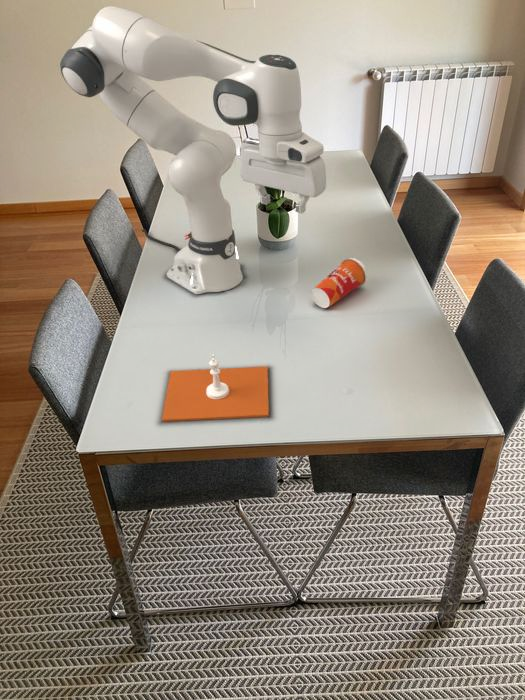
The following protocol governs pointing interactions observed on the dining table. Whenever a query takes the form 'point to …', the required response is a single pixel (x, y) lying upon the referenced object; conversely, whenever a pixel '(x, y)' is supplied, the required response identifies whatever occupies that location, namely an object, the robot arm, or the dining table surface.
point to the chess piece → (216, 382)
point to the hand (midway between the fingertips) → (282, 207)
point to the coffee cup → (339, 282)
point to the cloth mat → (194, 404)
